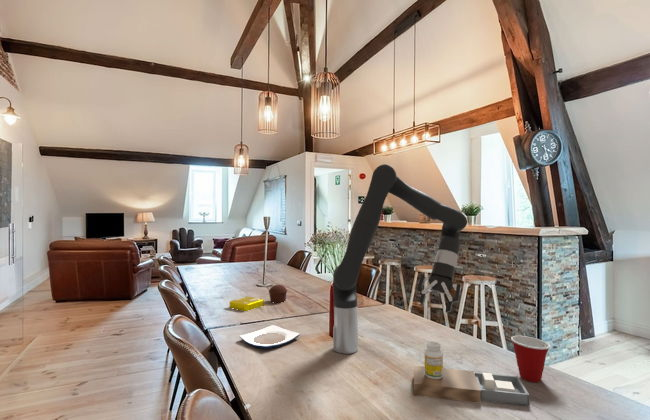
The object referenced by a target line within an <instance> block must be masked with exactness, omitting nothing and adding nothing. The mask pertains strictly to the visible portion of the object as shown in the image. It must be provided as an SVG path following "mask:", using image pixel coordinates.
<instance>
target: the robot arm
mask: <svg viewBox="0 0 650 420" xmlns="http://www.w3.org/2000/svg"><path fill="white" fill-rule="evenodd" d="M388 194H391V195H393V196H395V197H397V198H399V199H400V200H402V201H404V202H406V203H407V204H408V205H410V206H411V207H412V208H414V209H415V210H416V211H418V212H420V213H421V214H422V215H424V216H426V217H427V218H428V219H431V220H433V221H435V220H438V221H439V222H442V226H441V233H440V234H441V236H440V241H439V245H438V248H437V252H436V255H435V257H434V261H433V264H432V269H431V272H430V276H429V277H427V276H425V275H424V274H421V276H420V279H419V281H418V285H417V287H416V290H417V292H419V293H420V298H419V303H420V306H422V307H424V305H425V303H426V298H427V295H428V294H429V293H430V292H436V293H440V294H445V295H446V297H447V298H448V301H447V303H446V307H445V313H446V314H449V313H451V311H452V307H453V304H454V303H460V298H461V291H462V286H461V284H459V283H457V284H456V283H454V282H453V280H454V277H455V272H456V268H457V265H458V264H457V263H458V255H459V253H460V245H461V241H460V240H459V239H460V235H461V232H462V231H463V230H464V229H465V228H466V227H467V225H468V219H467V217H466V215H465V214H463V212H461V211H460V210H459V209H455V208H453V207H451V206H448V205H445V204H443V203H442V202H441V201H438V200H437V199H435V198H434V197H432V196H430V195H428V194H427V193H425V192H423V191H420V190H419V189H416V188H415V187H413V186H411V185H409V184H407V183H406V182H405V181H404V180H402V179H401V178H400V177H399V176H398V175H397V172H396V170H395V168H394V167H393V166H391V165H390V164H386V163H383V164H381V165H378V166H377V167H376V168H375V169H374V170H373V173H372V174H371V180H370V183H369V187H368V191H367V193H366V196H365V198H364V200H363V202H362V204H361V206H360V208H359V210H358V213H357V215H356V217H355V219H354V222H353V224H352V227H351V230H350V233H349V237H348V243H347V246H346V251H345V253H344V256H343V258H342V260H341V262H340V264H339V265H337V266H336V267H335V268H334V270H333V275H332V276H333V277H332V279H333V280H332V284H333V316H334V317H333V320H334V323H333V327H332V328H333V329H332V330H333V331H332V336H333V337H332V339H333V340H332V341H333V342H332V343H333V344H332V345H333V352H337V353H338V354H345V355H346V354H354V353H356V352H358V351H359V329H358V327H359V319H358V314H359V313H358V295H357V282H358V279H359V275H360V272H361V267H362V266H363V265H362V264H363V261H364V259H365V257H366V254H367V252H368V251H369V248H370V247H371V244H372V241H373V240H374V237H375V235H376V234H377V229H378V227H379V223H380V221H381V218H382V212H383V208H384V205H385V201H386V199H387V197H388ZM427 282H428V283H429V285H428V286H426V287H425V288H424V285H425V284H426V283H427ZM423 288H424V289H423ZM452 288H453V290H454V291H455V296H454V297H452V295H451V293H450V290H451V289H452Z"/></svg>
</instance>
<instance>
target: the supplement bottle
mask: <svg viewBox="0 0 650 420" xmlns="http://www.w3.org/2000/svg"><path fill="white" fill-rule="evenodd" d="M443 358H444V354H443V352H442V351H441V343H440V342H437V341H428V342H426V349H425V350H424V367H425V375H426V376H427V377H428V378H431V379H441V378H442V377H443V368H444V359H443Z"/></svg>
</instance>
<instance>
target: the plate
mask: <svg viewBox="0 0 650 420" xmlns="http://www.w3.org/2000/svg"><path fill="white" fill-rule="evenodd" d="M267 333H278V334H282V335H284V336H285V340H283V341H281V342H278V343H274V344H260V343H256V342H254V338H255V337H257V336H259V335H262V334H267ZM300 335H301V333H300V332H297V331H296V332H295V331H292V330H289V329H285V328H282V327H280V326H278V325H275V324H271V325H269V326H267V327H264V328H261V329H259V330H256V331H252V332H249V333H248V332H247V333H245V334H240V335H239V338H240V339H241V340H242V341H243V342H245V344H248V345H250V346H253V347H255V348H259V349H265V350H267V349H272V347H273V348H278V347H279V346H280V345H281V346H283V344H284V345H286V344H287V343H290V342H292V341H294V340H296V339H297V338H299V336H300ZM281 346H280V347H281Z"/></svg>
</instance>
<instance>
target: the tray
mask: <svg viewBox="0 0 650 420" xmlns="http://www.w3.org/2000/svg"><path fill="white" fill-rule="evenodd" d="M474 374H475V377H476V380H477V382H478V385H479V388H480V394H481V402H482V401H483V402H491V403H499V404H500V403H502V404H509V405H518V406H527V407H530V404H531V403H530V394H529V391H528V390H527V389H526V386H525V385H524V384H523V383H522V381H521V379H520V377H519V376H518V375H508V374H498V373H497V374H496V373H491V374H492V376H493V378H494V380H499V381H507V382H512V385H513V387H514V389H515V392H507V391H497V390H488V389H483V386H482V372H474ZM494 385H495V384H494Z"/></svg>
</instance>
